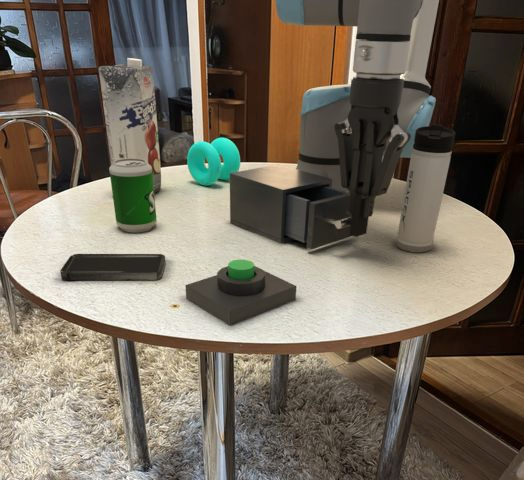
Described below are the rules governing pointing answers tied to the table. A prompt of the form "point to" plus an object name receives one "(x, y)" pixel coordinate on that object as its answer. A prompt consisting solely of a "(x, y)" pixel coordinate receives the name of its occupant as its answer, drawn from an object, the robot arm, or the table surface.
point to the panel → (240, 295)
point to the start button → (241, 269)
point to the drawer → (317, 216)
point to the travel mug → (424, 187)
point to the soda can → (133, 194)
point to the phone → (114, 267)
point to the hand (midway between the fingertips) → (357, 234)
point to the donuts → (213, 161)
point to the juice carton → (131, 114)
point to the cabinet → (267, 198)
